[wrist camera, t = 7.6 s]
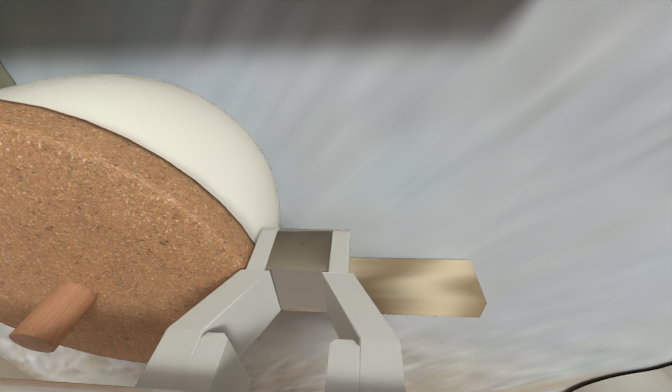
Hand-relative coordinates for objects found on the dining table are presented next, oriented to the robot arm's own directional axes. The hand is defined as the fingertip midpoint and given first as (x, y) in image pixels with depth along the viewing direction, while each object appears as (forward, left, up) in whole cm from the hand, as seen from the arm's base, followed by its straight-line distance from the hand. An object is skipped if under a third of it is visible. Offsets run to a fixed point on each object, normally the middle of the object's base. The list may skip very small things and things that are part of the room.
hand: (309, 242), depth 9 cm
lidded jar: (+7, 0, -6) cm, 9 cm away
